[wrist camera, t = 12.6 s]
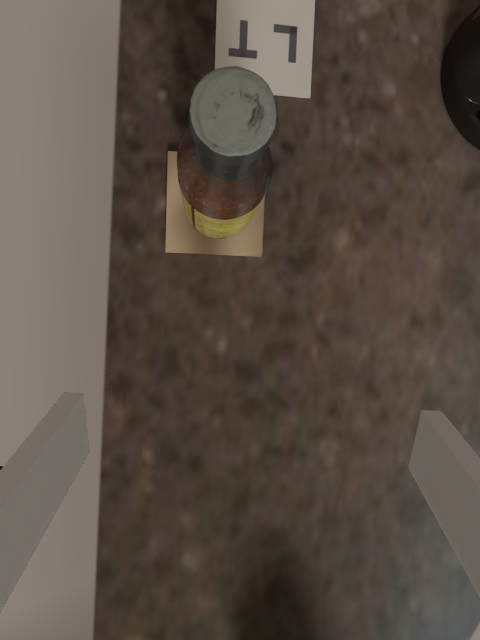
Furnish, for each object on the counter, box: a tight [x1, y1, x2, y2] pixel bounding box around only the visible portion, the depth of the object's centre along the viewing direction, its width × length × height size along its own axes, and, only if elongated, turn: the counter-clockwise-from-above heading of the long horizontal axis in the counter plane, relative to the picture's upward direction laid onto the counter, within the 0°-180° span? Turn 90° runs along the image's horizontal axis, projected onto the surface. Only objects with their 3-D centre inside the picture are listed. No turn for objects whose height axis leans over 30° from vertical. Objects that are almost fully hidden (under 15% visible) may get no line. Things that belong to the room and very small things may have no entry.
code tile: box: [215, 0, 315, 98], centre depth 38 cm, size 9×9×1 cm
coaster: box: [165, 151, 265, 257], centre depth 38 cm, size 9×9×1 cm
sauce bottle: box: [177, 66, 277, 239], centre depth 28 cm, size 6×6×20 cm
